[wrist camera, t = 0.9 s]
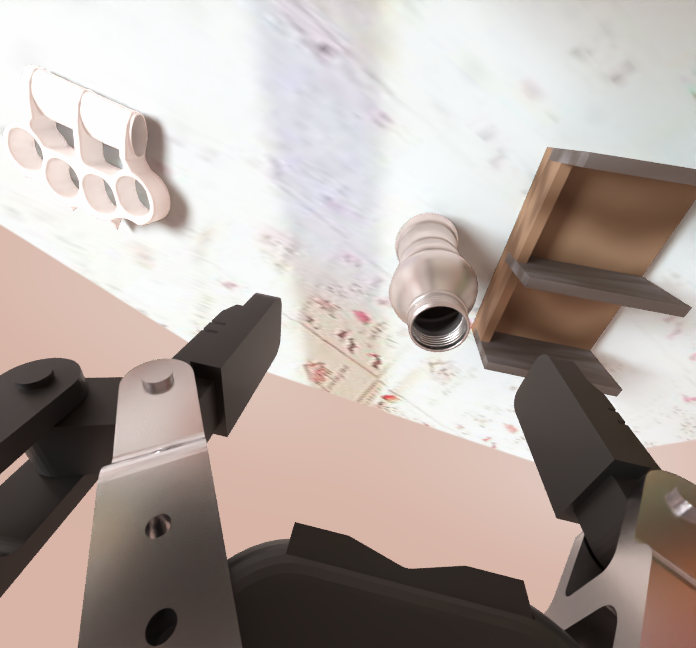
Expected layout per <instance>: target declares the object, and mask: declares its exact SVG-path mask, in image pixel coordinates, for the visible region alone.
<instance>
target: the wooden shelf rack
mask: <svg viewBox="0 0 696 648" xmlns="http://www.w3.org/2000/svg"><path fill="white" fill-rule="evenodd" d="M695 200H696V169H691V168H685V167H679V166H673V165H666V164H660V163H654V162H648V161H641V160H635V159H629V158H623V157H616V156H610V155H604V154H598V153H592V152H583V151H575V150H566V149H558V148H549V147H547V149H546V151H545V154H544V156H543V159H542V161H541V163H540V166H539V168H538V170H537V173H536V175H535V178H534V180H533V182H532V185H531V187H530V189H529V192H528V194H527V197H526V199H525V201H524V204H523V206H522V209H521V211H520V213H519V216H518V218H517V220H516V223H515V225H514V228H513V230H512V232H511V235H510V237H509V239H508V242H507V244H506V247H505V249H504V251H503V254H502V256H501V258H500V261H499V263H498V266H497V268H496V270H495V273H494V275H493V277H492V280H491V282H490V285H489V287H488V289H487V292H486V294H485V296H484V299H483V301H482V304H481V306H480V308H479V311H478V313H477V315H476V318H475V320H474V323H473V325H472V327H471V328H472V332H473V335H474V338H475V341H476V344H477V347H478V350H479V353H480V357H481V360H482V363H483V366H484V369H487V370H492V371H497V372H502V373H507V374H511V375H516V376H521V377H526V375H527V374H528V372H529V370H530V369H531V367H532V365H533V364H534V362H535V360H536V359H537V358H538V357H539V356H540V355H543V354H546V355H550V356H555V357H560V358H565V359H569V360H572V361H573V362H574V363H575V364H576V365H577V367H578V368H579V369H580V371H581V372H582V373H583V375H584V376H585V378H586V379H587V380H588V381H589V382H590V383H591V384H592V385H593V386H595V387H596V388H597V389H598V390H599V391H601V392H602V393H603V394H607V395H612V396H618V394H619V393H620V392H621V391H622V389H621V387H620V386H619V385H618V384H617V382H616V381H615V380H614V379H613V378H612V376H611V375H610V374H609V373H608V372H607V370H606V369H605V368H604V367H603V366H602V364H601V363H600V362H599V361H598V360H597V358H596V357H595V356H594V355H593V354H592V352H591V351H590V349H591V348H592V347H593V345H594V344H595V342H596V341H597V340H598V338H599V337H600V335H601V334H602V332H603V331H604V330H605V328H606V327H607V325H608V324H609V322H610V321H611V320H612V318H613V317H614V315H615V314H616V312H617V311H618V310H619V308H620V307H621V305H622V306H627V307H633V308H638V309H643V310H648V311H654V312H659V313H664V314H669V315H675V316H680V317H684V316H685V315H686V314H687V313H688V312H689V310H690V309H691V308H692V307H690V306H689V305H687V304H685V303H684V302H682V301H681V300H679V299H677V298H676V297H674V296H672V295H671V294H669V293H668V292H666V291H664V290H663V289H661V288H660V287H658V286H656V285H655V284H653V283H652V282H650V281H648V280H647V279H645V278H644V277H642V275H643V274H644V272H645V271H646V270H647V268H648V267H649V265H650V264H651V262H652V261H653V260H654V258H655V257H656V255H657V254H658V252H659V251H660V250H661V248H662V247H663V245H664V244H665V243H666V241H667V240H668V238H669V237H670V235H671V234H672V233H673V231H674V230H675V228H676V227H677V225H678V224H679V223H680V221H681V220H682V218H683V217H684V215H685V214H686V213H687V211H688V210H689V208H690V207H691V205H692V204H693V203H694V201H695Z"/></svg>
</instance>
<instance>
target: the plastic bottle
mask: <svg viewBox="0 0 696 648" xmlns="http://www.w3.org/2000/svg"><path fill="white" fill-rule="evenodd" d="M395 250H396V254H397V257H398V260H399V265H398V267H397V269H396V271H395V273H394V274H393V277H392V280H391V284H390V288H389V297H390V302H391V305H392V307H393V309H394V311H395V312H396V314H397V315H398V317H399V318H400V319H401V320H402V321H403V322H404V323H406V324H407V325H408V330H409V334H410V337H411V339H412V340H413V342H414V343H415V344H416V345H417V346H419V347H420V348H422V349H424V350H427V351H431V352H444V351H448V350H451V349H454V348H456V347H457V346H459V345H460V344H461V343H463V341H464V340H465V339H466V338H467V336H468V334H469V330H470V322H469V318H468V314H469V312H470V311H471V310H472V308H473V306H474V303H475V300H476V296H477V293H478V282H477V278H476V275H475V273H474V271H473V269H472V268H471V266H470V265H469V264H468V263H467V262H466V260H464V259H463V258H462V257H461V256H460V255H459V253H458V233H457V230H456V228H455V226H454V225H453V224H452V222H451V221H449V220H448V219H447V218H445V217H443V216H441V215H439V214H435V213H422V214H419V215H416V216H414V217H412V218H411V219H409V220H408V221H407V222H406V223H405V224H404V225H403V226H402V227H401V229H400V230H399V232H398V234H397V237H396V241H395Z"/></svg>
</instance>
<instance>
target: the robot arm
mask: <svg viewBox="0 0 696 648" xmlns="http://www.w3.org/2000/svg"><path fill="white" fill-rule="evenodd" d="M281 309H282V303H281V299H280V298H278V297H274V296H269V295H264V294H259V293H256V294H254V295H253V296H252V297H251V298H250V299H249V300H248V301H247V302H246V303H245V305H244V306H241V305H235V306H233V307H230V308H228V309H226V310H223V311H222V312H221V313H220V314H218V315H217V316H216V317H215V318H214V319H213V320H212V323H211V322H210V323H209V324H208V325H207V326H206V327H205V328H204V330H201V331H200V332H199V333H198V334H197V335H196V336H195V337H194V338H193V339H192V340H191V341H190V342H189V343H188V344H187V345H186V346H185V347H183V348H182V349H181V350H180V351H179V352H178V353H177V354H176V355H175V356H174V357H173V358H172V359H158V360H153V361H149V362H146V363H143V364H141V365H139V366H137V367H135V368H133V369H132V370H130V371H129V372H128V373H127V374H126V375H125V376H124V377H118V378H117V377H116V378H85V377H84V375H83V373H82V370H81V368H80V366H79V365H78V364H77V363H76V362H75V361H72V360H69V359H63V358H49V359H42V360H36V361H33V362H29V363H25V364H23V365H20V366H17V367H15V368H13V369H11V370H9V371H7V372H5V373H4V374H2V375H0V474H1V473H2V472H3V471H4V470H5V469H7V468H8V467H9V466H10V465H11V464H12V463H13V462H14V461H15V460H17V459H18V458H19V457H20V456H21V455H22V454H23V453H26V455H27V456H28V458H29V460H28V461H27V462H26V463H24V464H23V465H22V466H21V467H20V468H19V469H18V470H17V471H16V472H15V473H14V474H12V475H11V476H10V477H9V478H8V479H7V480H6V481H5V482H4V483H3V484H1V486H0V597H1V596H2V595H3V594H4V593H5V591H6V590H7V589H8V588H9V587H10V585H11V584H12V583H13V582H14V580H15V579H16V578H17V577H18V576H19V574H20V573H21V572H22V571H23V569H24V568H25V567H26V566H27V565H28V564H29V562H30V561H31V560H32V559H33V557H34V556H35V555H36V554H37V553H38V551H39V550H40V549H41V548H42V547H43V545H44V544H45V543H46V542H47V541H48V539H49V538H50V537H51V536H52V534H53V533H54V532H55V531H56V530H57V529H58V527H59V526H60V525H61V524H62V522H63V521H64V520H65V519H66V518H67V516H68V515H69V514H70V513H71V512H72V510H73V509H74V508H75V507H76V506H77V504H78V503H79V502H80V501H81V500H82V498H83V497H84V496H85V495H86V493H87V492H88V491H89V490H90V489H91V487H92V486H93V485H94V484H95V483H96V481H97V480H98V484H97V492H96V500H95V508H94V517H93V526H92V534H91V542H90V550H89V559H88V567H87V575H86V584H85V592H84V600H83V609H82V617H81V625H80V634H79V642H78V648H696V485H695V484H693V483H692V482H690V481H688V480H686V479H684V478H682V477H680V476H678V475H676V474H673V473H670V472H667V471H663V470H661V469H660V467H659V466H658V465H657V464H656V463H655V461H654V460H653V458H652V457H651V455H650V454H649V453H648V452H647V450H646V449H645V448H644V446H643V445H642V444H641V442H640V441H639V440H638V438H637V437H636V436H635V434H634V433H633V432H632V430H631V429H630V428H629V426H628V425H625V421H624V420H623V419H622V417H621V416H620V415H619V413H618V412H615V410H616V409H615V408H614V407H613V405H612V404H611V403H610V401H609V400H608V399H607V397H606V396H605V395H604V394H603V393H602V392H601V391H599V390H598V389H597V388H596V387H595V386H593V385H592V384H591V383H590V382H589V381H588V380H587V379H586V378H585V376H584V375H583V373H582V372H581V371H580V369H579V368H578V367H577V365H576V364H575V363H574V362H573V361H572V360H569V359H565V358H560V357H555V356H550V355H546V354H543V355H540V356H539V357H538V358H537V359H536V360H535V362H534V364H533V365H532V367H531V369H530V370H529V372H528V374H527V375H526V377H525V379H524V380H523V382H522V384H521V385H520V387H519V389H518V390H517V392H516V395H515V400H514V408H515V412H516V415H517V418H518V420H519V423H520V425H521V428H522V430H523V433H524V436H525V438H526V441H527V443H528V446H529V448H530V451H531V454H532V456H533V459H534V461H535V464H536V466H537V469H538V471H539V474H540V476H541V479H542V482H543V484H544V487H545V490H546V492H547V495H548V497H549V500H550V502H551V505H552V508H553V510H554V513H555V515H556V518H558V519H562V520H566V521H570V522H574V523H578V524H580V525H581V528H582V530H583V532H581V533H580V534H579V535H578V536H577V537H576V538H575V540H574V543H573V546H572V549H571V551H570V554H569V557H568V560H567V563H566V565H565V568H564V571H563V574H562V576H561V579H560V582H559V585H558V588H557V590H556V593H555V596H554V598H553V601H552V603H551V605H550V606H549V608H548V609H547V611H546V612H545V613H544V614H543V613H542V612H540V611H539V610H537V609H536V608H534V607H533V606H531V605H530V604H529V600H528V596H527V592H526V589H525V584H524V581H523V580H519V579H515V578H511V577H507V576H503V575H499V574H495V573H491V572H488V571H484V570H480V569H476V568H472V567H468V566H454V567H436V568H419V569H408V568H404V567H402V566H400V565H398V564H397V563H395V562H393V561H392V560H390V559H388V558H386V557H385V556H383V555H381V554H379V553H377V552H376V551H374V550H372V549H371V548H369V547H367V546H366V545H364V544H362V543H360V542H359V541H357V540H355V539H353V538H352V537H350V536H347V535H343V534H339V533H335V532H332V531H328V530H324V529H320V528H316V527H312V526H308V525H304V524H300V523H296V522H295V524H294V527H293V531H292V534H291V537H290V539H282V540H274V541H269V542H265V543H262V544H259V545H256V546H253V547H250V548H248V549H246V550H244V551H242V552H240V553H238V554H236V555H234V556H233V557H231V558H229V559H228V560H227V557H226V552H225V545H224V540H223V534H222V528H221V523H220V517H219V511H218V506H217V500H216V494H215V489H214V483H213V477H212V471H211V466H210V460H209V454H208V449H207V442H208V441H209V439H210V437H211V436H212V434H217V435H221V436H225V437H227V436H228V435H229V433H230V432H231V430H232V428H233V427H234V425H235V423H236V422H237V420H238V418H239V417H240V415H241V413H242V412H243V410H244V408H245V407H246V405H247V403H248V402H249V400H250V398H251V397H252V395H253V393H254V392H255V390H256V388H257V387H258V385H259V383H260V382H261V380H262V378H263V377H264V375H265V373H266V372H267V370H268V368H269V367H270V365H271V363H272V362H273V360H274V358H275V357H276V354H277V352H278V349H279V345H280V336H281Z"/></svg>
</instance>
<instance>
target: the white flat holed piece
mask: <svg viewBox="0 0 696 648" xmlns="http://www.w3.org/2000/svg"><path fill="white" fill-rule="evenodd" d="M22 89H23V98H24V104H25V110H26V118H25V119H24V121H23V122H16V123H12V124H10V125H8V126H7V127H6V129H5V131H4V134H3V141H4V146H5V149H6V152H7V154H8V156H9V158H10V160H11V161H12V163H13V164H14V165H15V167H16V168H17V169H18V170H19V171H20V172H21V173H22V174H23V175H24V176H25V177H29V178H33V179H35V180H37V181H39V182H41V183H42V184H44V185H45V186H46V187H47V188H48V189H49V190H50V191H51V192H52V193H53V195H54V196H55V197H56V198H58V199H59V200H61V201H62V202H64V203H65V204H67V205H68V206H70V207H72V209H73V211H74V210H75V209H76V208H82V209H84V210H86V211H88V212H90V213H91V214H92V215H94V216H95V217H96V218H97V219H103V220H108V221H110V222H111V223H112V224H113V225H114V226H115V227H116V228H117V229H118V228H119V225H120V222H121V219H122V218H124V219H128V220H130V221H132V222H134V223H136V224H137V225H139V226H141V225H147V224H149V223H152V222H155V221H158V220H160V219H163V218H164V217H166V216H167V214H168V213H169V210H170V206H171V201H170V195H169V192H168V189H167V187H166V185H165V184H164V182H163V181H162V180H161V178H160V177H159V176H158V175H157V174H156V173H154V172H153V171H152V170H151V169H150V167H149V165H148V163H147V161H146V159H145V150H146V146H147V125H146V121H145V118H144V116H143V115H142V114H141V113H140V112H138V111H136V110H131V109H129V108H126V107H124V106H122V105H120V104H118V103H116V102H113V101H111V100H109V99H107V98H105V97H102V96H100V95H98V94H96V93H94V92H93V91H92V90H90V89H85V88H83V87H81V86H78V85H76V84H74V83H72V82H70V81H67V80H65V79H63V78H61V77H59V76H56V75H54V74H52V73H50V72H48V71H46V69H44V68H42V67H37V66H34V65H27V66H26V67H25V69H24V72H23V76H22ZM57 122H58V123H60V124H62V125H64V126H67V127H69V128H71V129H73V135H74V145H75V149H74V148H72V147H70V146H69V145H68V144H67V142H66V140H65V139H64V137H63V136H62V135H61V133H60V132H59V131H58V129H57V127H56V123H57ZM35 139H36V141H37V142H38V144H39V146H40V148H41V150H42V153H43V160H42V159H41V158H40V156H39V155H38V153H37V151H36V148H35ZM103 143H105V144H107V145H109V146H112V147H114V148H116V149H118V150H119V153H120V158H121V160H122V162H123V165H124V168H123V170H122V169H119V168H117V167H115V166H113V165H110V164H109V163H107V162H106V160H105V159H104V156H103ZM70 166H71V167H72V168H73V170H74V171H75V173H76V175H77V177H78V179H79V189H78V188H77V187H76V186H75V185H74V183H73V182H72V180H71V177H70V174H69V168H70ZM104 180H105V181H106V182H107V183H108V184H109V186H110V187H111V189H112V191H113V193H114V197H115V200H116V204H117V207H116V206H115V205H114V204H113V203H112V202H111V201H110V199H109V198H108V196H107V193H106V190H105V187H104ZM136 180H137V181H139V182H140V183H141V184H142V186H143V187H144V189H145V190H146V193H147V195H148V199H149V204H150V210H148V209H147V208H146V207H145V206H144V205H143V204H142V203H141V202H140V200H139V198H138V195H137V191H136V187H135V181H136Z"/></svg>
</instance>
